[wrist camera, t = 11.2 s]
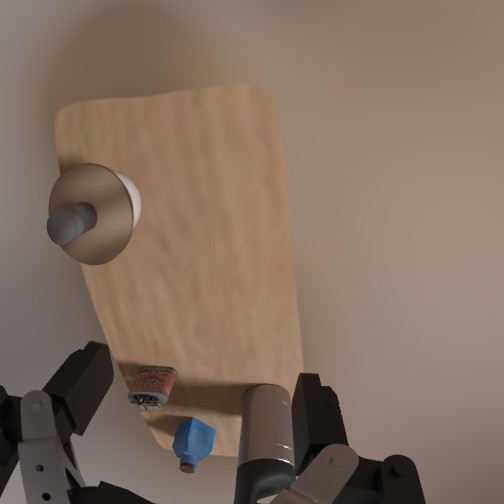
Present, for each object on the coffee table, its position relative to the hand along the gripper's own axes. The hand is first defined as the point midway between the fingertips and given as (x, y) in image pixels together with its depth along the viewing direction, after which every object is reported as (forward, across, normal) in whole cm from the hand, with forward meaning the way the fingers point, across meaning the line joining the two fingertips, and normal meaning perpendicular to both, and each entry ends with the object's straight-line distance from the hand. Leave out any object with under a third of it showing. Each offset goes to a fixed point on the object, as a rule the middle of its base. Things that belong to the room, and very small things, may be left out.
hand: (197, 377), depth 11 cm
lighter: (+34, +14, +33) cm, 49 cm away
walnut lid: (+24, +20, 0) cm, 31 cm away
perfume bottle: (+34, +7, +49) cm, 60 cm away
